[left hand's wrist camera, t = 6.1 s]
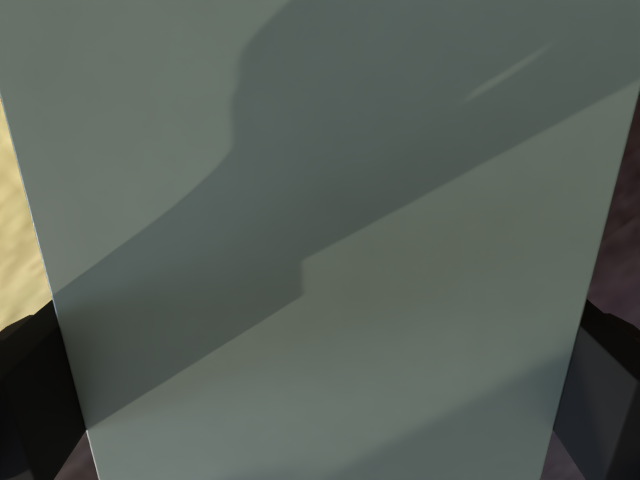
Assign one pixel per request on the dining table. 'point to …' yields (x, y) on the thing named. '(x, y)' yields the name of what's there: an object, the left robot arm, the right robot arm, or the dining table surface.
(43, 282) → the dining table surface
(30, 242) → the dining table surface
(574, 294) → the cabinet
